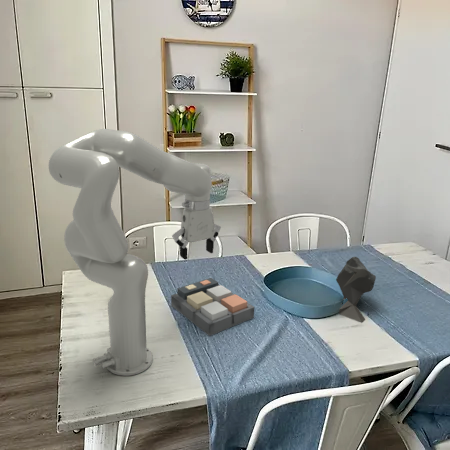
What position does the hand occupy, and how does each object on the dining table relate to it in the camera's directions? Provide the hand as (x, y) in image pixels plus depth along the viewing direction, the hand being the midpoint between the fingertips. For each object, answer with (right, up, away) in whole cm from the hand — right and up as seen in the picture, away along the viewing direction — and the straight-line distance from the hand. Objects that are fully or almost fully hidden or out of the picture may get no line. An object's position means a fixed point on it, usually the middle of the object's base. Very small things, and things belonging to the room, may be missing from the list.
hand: (196, 254), depth 140 cm
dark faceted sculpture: (+53, -19, +12) cm, 57 cm away
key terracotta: (+12, -18, +2) cm, 21 cm away
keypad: (+5, -19, +5) cm, 21 cm away
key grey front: (+6, -19, -3) cm, 20 cm away
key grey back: (+7, -15, +8) cm, 19 cm away
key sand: (+1, -17, +3) cm, 17 cm away
